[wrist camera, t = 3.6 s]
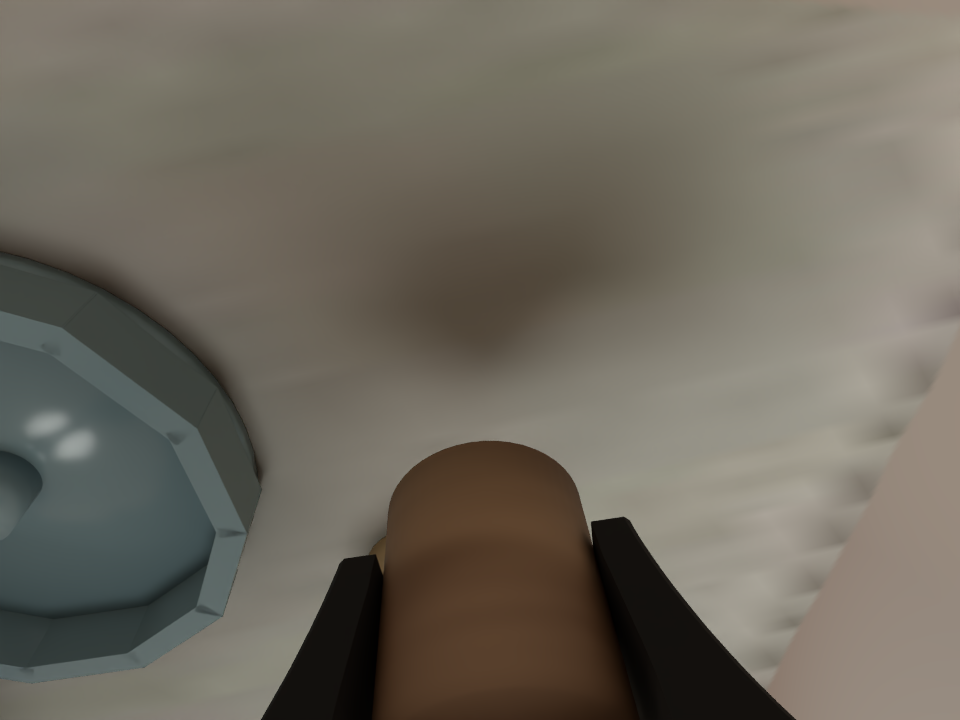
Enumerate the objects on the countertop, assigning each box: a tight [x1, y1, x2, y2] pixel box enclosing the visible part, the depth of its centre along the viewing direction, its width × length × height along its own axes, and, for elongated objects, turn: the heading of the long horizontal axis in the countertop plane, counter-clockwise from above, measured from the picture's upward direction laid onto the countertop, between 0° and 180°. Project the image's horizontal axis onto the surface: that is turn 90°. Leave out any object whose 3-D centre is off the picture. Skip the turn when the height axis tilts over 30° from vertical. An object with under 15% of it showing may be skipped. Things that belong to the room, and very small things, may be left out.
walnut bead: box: [372, 441, 640, 720], centre depth 12 cm, size 4×4×5 cm
